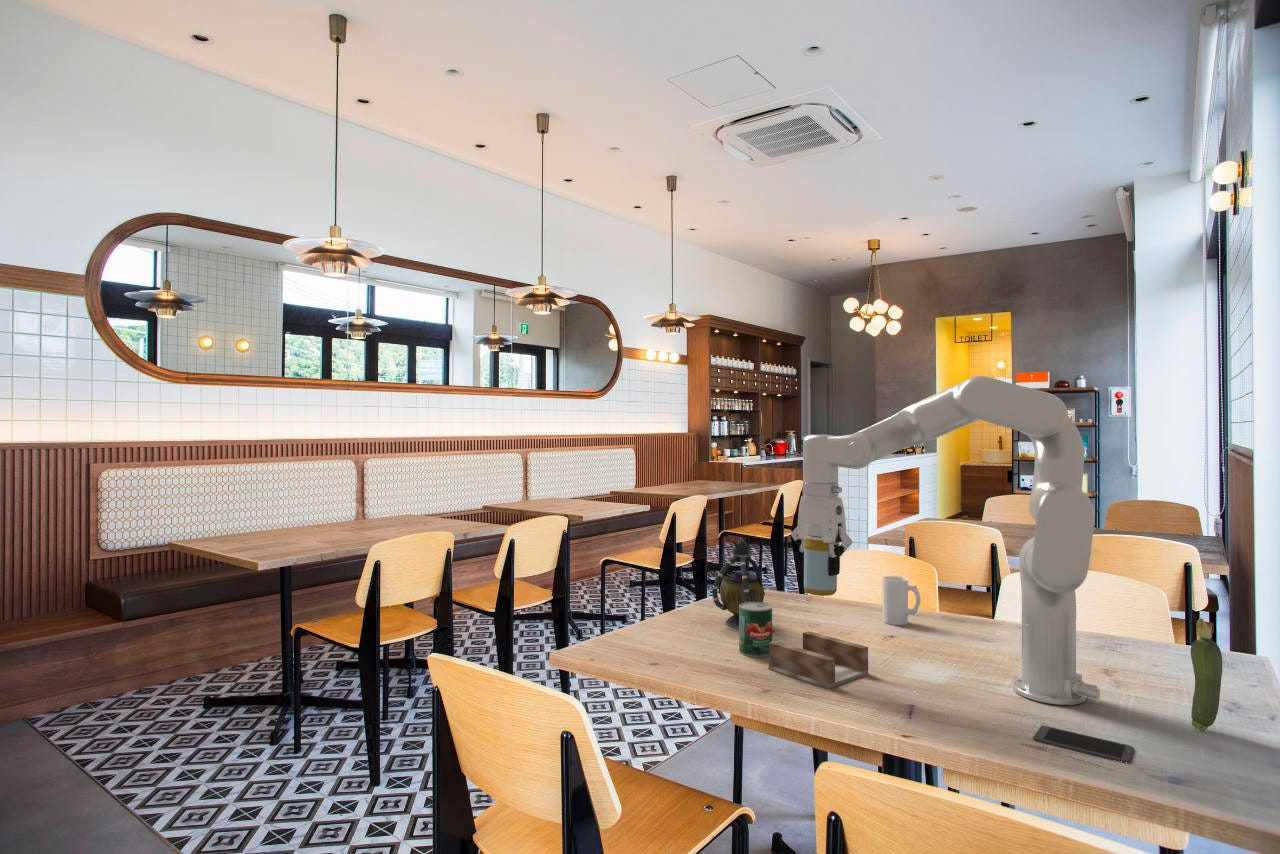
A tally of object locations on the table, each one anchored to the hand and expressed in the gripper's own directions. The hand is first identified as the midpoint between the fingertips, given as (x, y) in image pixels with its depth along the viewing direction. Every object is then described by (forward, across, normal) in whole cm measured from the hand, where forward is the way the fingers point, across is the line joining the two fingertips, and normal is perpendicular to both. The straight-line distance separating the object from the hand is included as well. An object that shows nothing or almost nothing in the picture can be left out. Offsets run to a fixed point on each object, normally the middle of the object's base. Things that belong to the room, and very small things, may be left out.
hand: (820, 571), depth 158 cm
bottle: (+5, 0, 0) cm, 5 cm away
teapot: (+22, +38, -18) cm, 48 cm away
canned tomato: (+22, +18, +1) cm, 29 cm away
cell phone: (+22, -51, -4) cm, 56 cm away
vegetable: (+22, -63, -26) cm, 71 cm away
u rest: (+22, 0, +1) cm, 22 cm away
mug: (+22, +10, -48) cm, 54 cm away
